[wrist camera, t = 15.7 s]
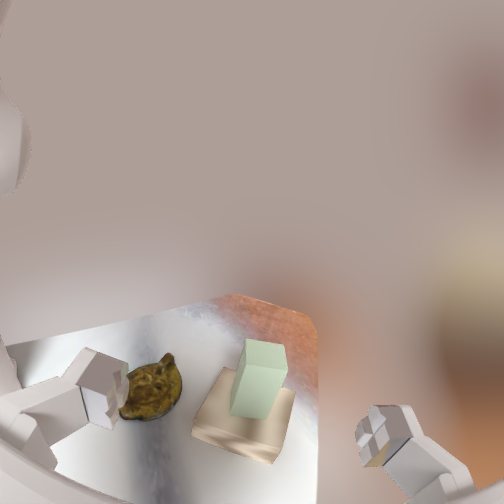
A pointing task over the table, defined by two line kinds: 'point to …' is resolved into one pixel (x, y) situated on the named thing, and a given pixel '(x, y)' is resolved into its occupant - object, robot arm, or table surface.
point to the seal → (152, 390)
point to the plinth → (242, 423)
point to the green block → (258, 379)
